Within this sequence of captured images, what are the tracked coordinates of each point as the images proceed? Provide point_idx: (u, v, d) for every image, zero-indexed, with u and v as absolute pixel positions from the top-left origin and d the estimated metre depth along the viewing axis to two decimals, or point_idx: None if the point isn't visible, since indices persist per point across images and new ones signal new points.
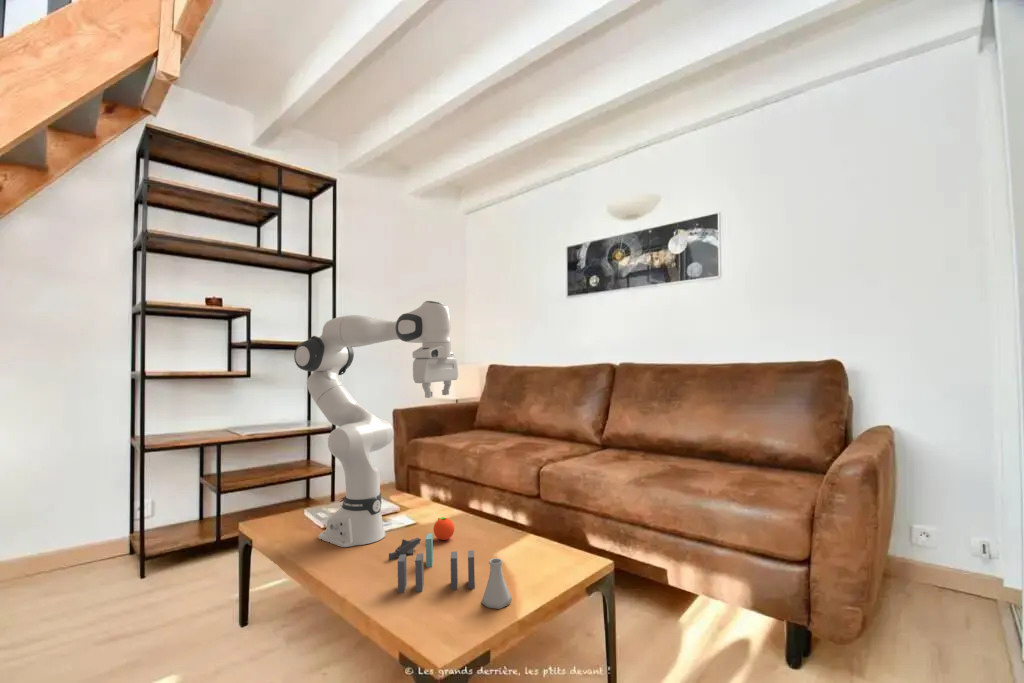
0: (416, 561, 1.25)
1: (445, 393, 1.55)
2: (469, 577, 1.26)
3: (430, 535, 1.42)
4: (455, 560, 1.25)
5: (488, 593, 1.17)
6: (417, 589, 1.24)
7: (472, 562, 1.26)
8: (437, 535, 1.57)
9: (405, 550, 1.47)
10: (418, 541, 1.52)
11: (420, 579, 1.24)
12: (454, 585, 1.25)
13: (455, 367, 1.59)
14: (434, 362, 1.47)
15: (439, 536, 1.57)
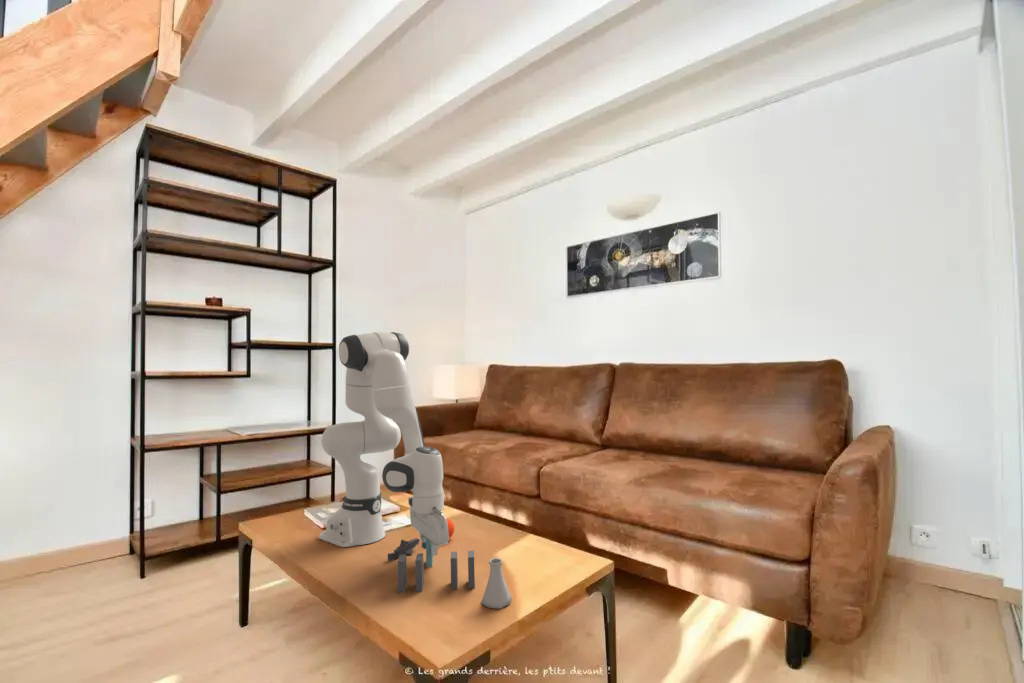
0: (417, 561, 1.25)
1: None
2: (469, 577, 1.26)
3: None
4: (455, 560, 1.25)
5: (488, 593, 1.17)
6: (417, 589, 1.24)
7: (472, 562, 1.26)
8: None
9: (404, 550, 1.47)
10: (417, 541, 1.51)
11: (420, 579, 1.24)
12: (454, 585, 1.25)
13: (434, 530, 1.34)
14: None
15: None
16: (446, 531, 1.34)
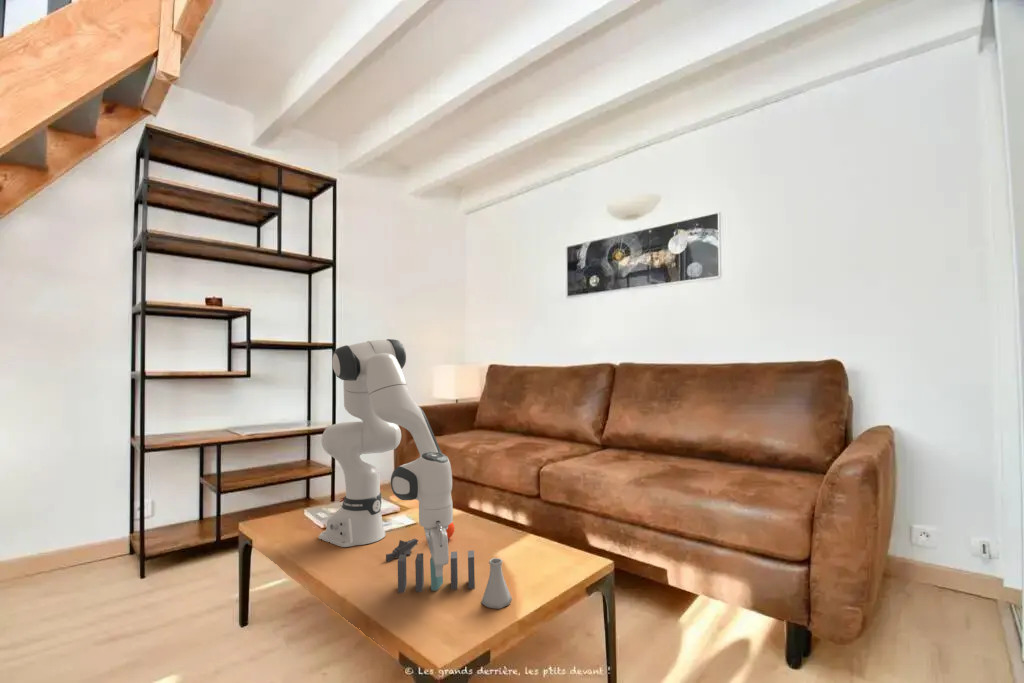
0: (417, 561, 1.25)
1: None
2: (469, 577, 1.26)
3: None
4: (455, 560, 1.25)
5: (488, 593, 1.17)
6: (417, 589, 1.24)
7: (472, 562, 1.26)
8: None
9: (402, 551, 1.47)
10: (415, 542, 1.51)
11: (420, 579, 1.24)
12: (454, 585, 1.25)
13: (432, 547, 1.19)
14: None
15: None
16: (445, 550, 1.18)
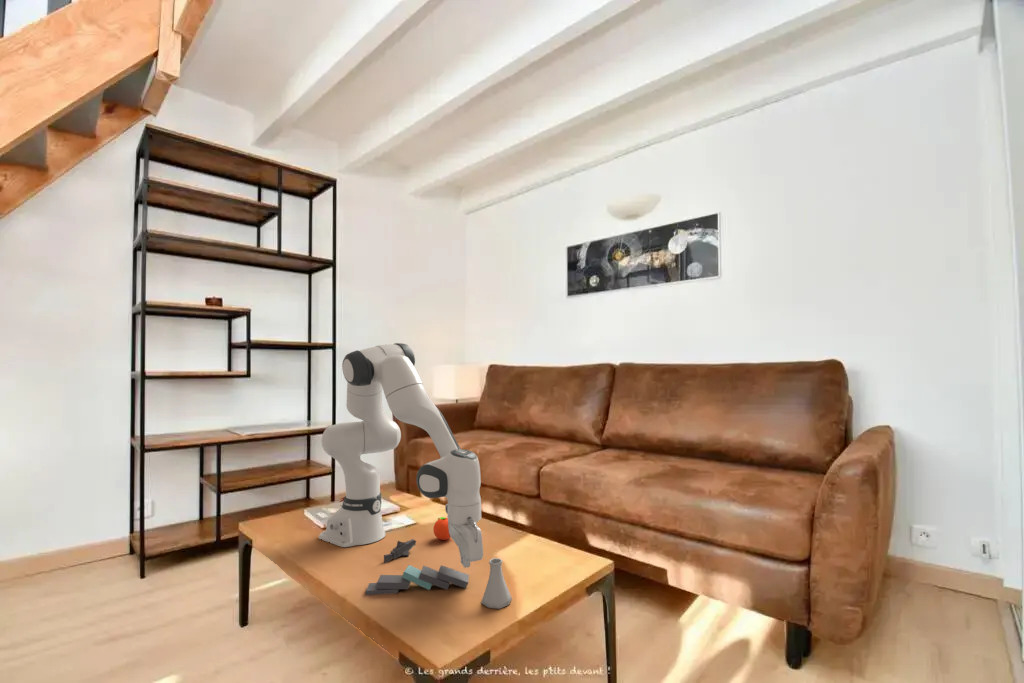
0: (378, 587, 1.24)
1: None
2: (455, 583, 1.25)
3: None
4: (422, 575, 1.25)
5: (488, 593, 1.17)
6: (405, 587, 1.24)
7: (443, 575, 1.25)
8: (437, 535, 1.57)
9: (400, 552, 1.46)
10: (413, 543, 1.50)
11: (395, 584, 1.24)
12: (445, 585, 1.25)
13: (467, 543, 1.20)
14: None
15: (439, 536, 1.57)
16: (480, 545, 1.19)
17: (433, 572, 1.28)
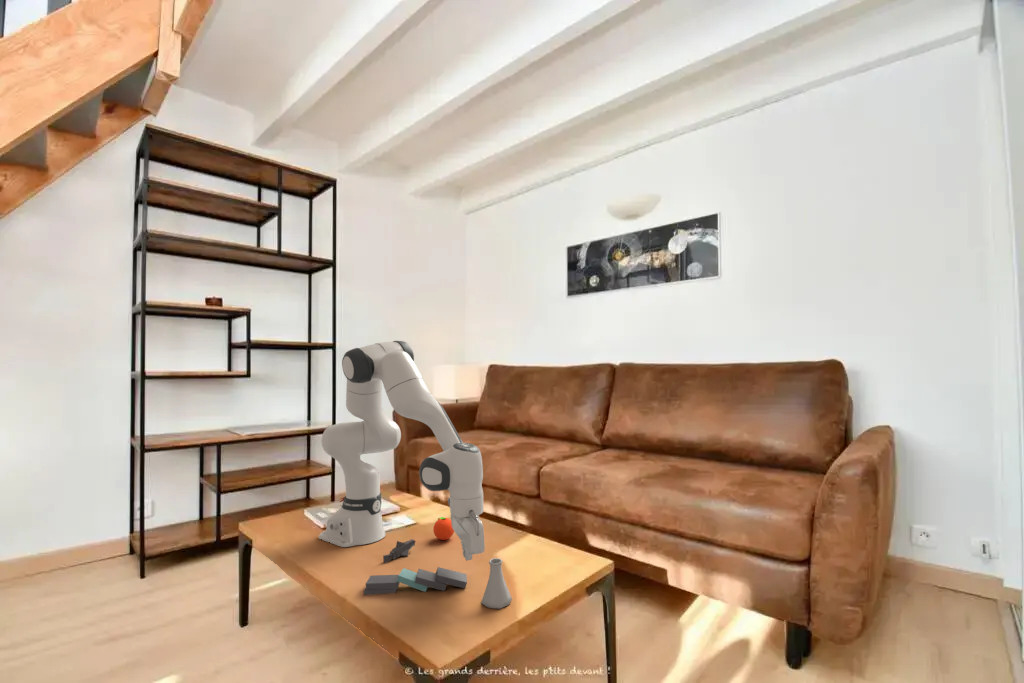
0: (367, 588, 1.24)
1: None
2: (454, 584, 1.25)
3: (401, 572, 1.28)
4: (418, 578, 1.24)
5: (488, 593, 1.17)
6: (394, 587, 1.24)
7: (441, 578, 1.25)
8: (437, 535, 1.57)
9: (400, 552, 1.46)
10: (413, 543, 1.50)
11: (384, 584, 1.24)
12: (441, 586, 1.24)
13: (468, 536, 1.20)
14: None
15: (439, 536, 1.57)
16: (482, 538, 1.20)
17: (429, 574, 1.27)
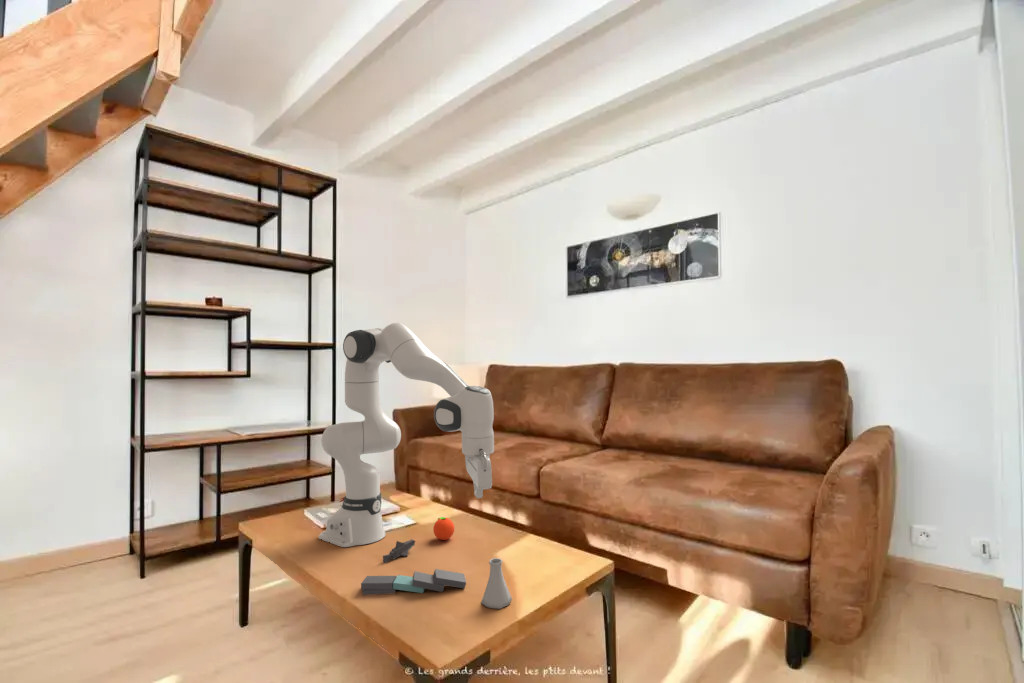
0: (362, 588, 1.24)
1: None
2: (454, 585, 1.25)
3: None
4: (415, 581, 1.23)
5: (488, 593, 1.17)
6: (389, 587, 1.24)
7: (441, 580, 1.24)
8: (437, 535, 1.57)
9: (399, 552, 1.46)
10: (412, 543, 1.50)
11: (379, 584, 1.24)
12: (439, 587, 1.24)
13: (477, 472, 1.24)
14: None
15: (439, 536, 1.57)
16: (489, 474, 1.23)
17: (425, 576, 1.26)
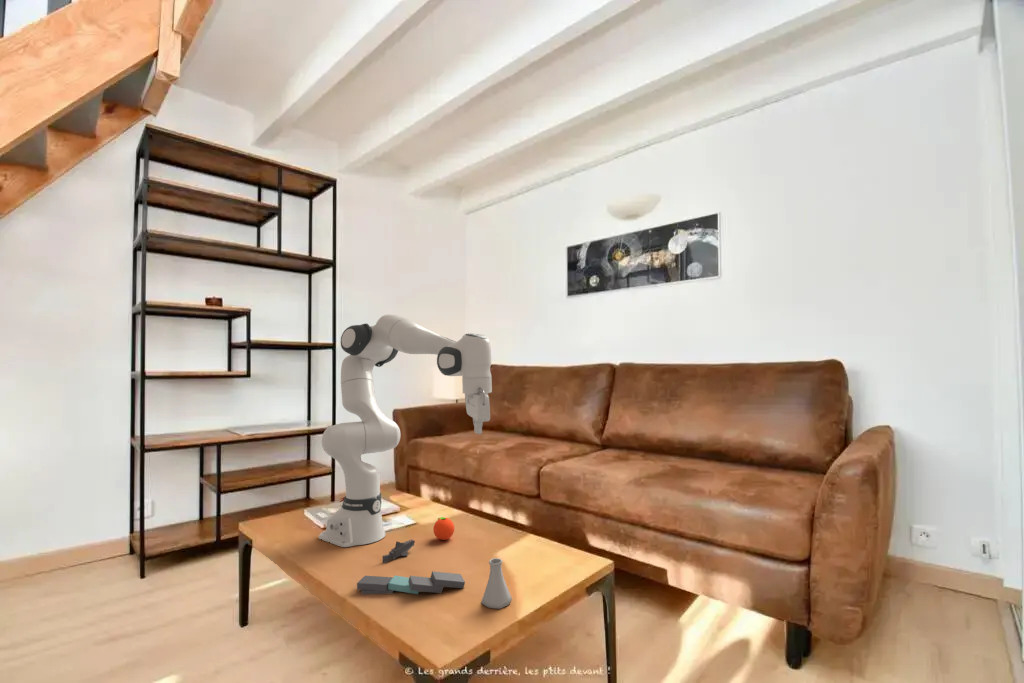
0: (358, 587, 1.25)
1: None
2: (453, 586, 1.25)
3: None
4: (414, 585, 1.21)
5: (488, 593, 1.17)
6: (383, 589, 1.24)
7: (440, 581, 1.23)
8: (437, 535, 1.57)
9: (399, 552, 1.46)
10: (412, 543, 1.50)
11: (374, 585, 1.24)
12: (438, 589, 1.23)
13: (476, 406, 1.37)
14: None
15: (439, 536, 1.57)
16: (487, 408, 1.36)
17: (422, 579, 1.24)
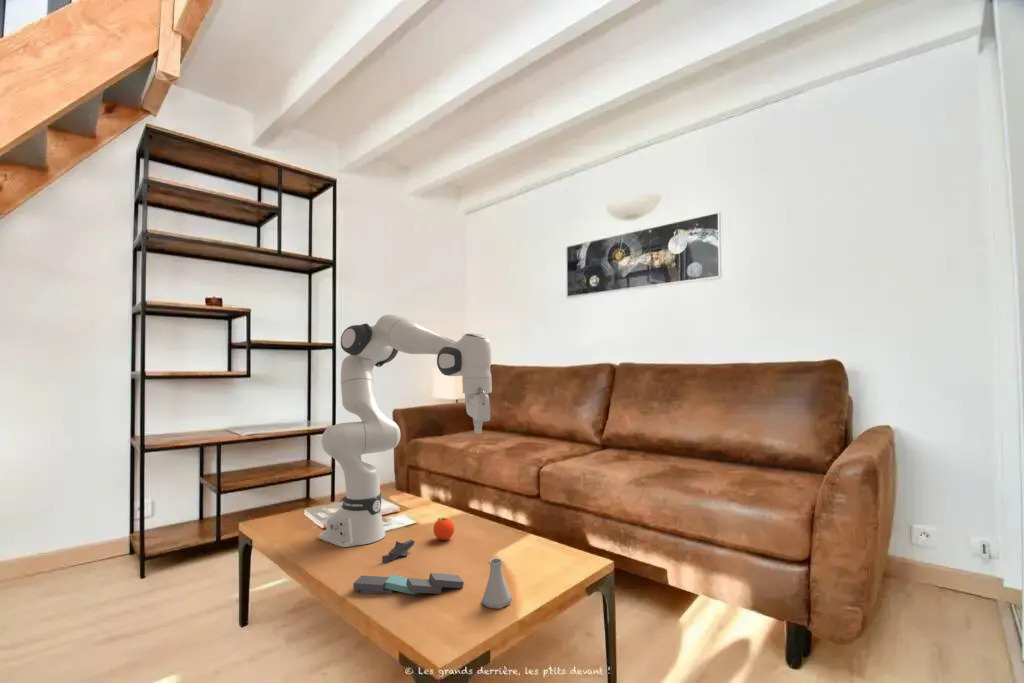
0: (354, 587, 1.25)
1: None
2: (452, 586, 1.25)
3: None
4: (414, 586, 1.20)
5: (488, 593, 1.17)
6: (380, 589, 1.24)
7: (439, 581, 1.23)
8: (437, 535, 1.57)
9: (399, 552, 1.46)
10: (412, 543, 1.50)
11: (371, 585, 1.24)
12: (437, 589, 1.23)
13: (476, 406, 1.37)
14: None
15: (439, 536, 1.57)
16: (487, 408, 1.36)
17: (420, 581, 1.24)
